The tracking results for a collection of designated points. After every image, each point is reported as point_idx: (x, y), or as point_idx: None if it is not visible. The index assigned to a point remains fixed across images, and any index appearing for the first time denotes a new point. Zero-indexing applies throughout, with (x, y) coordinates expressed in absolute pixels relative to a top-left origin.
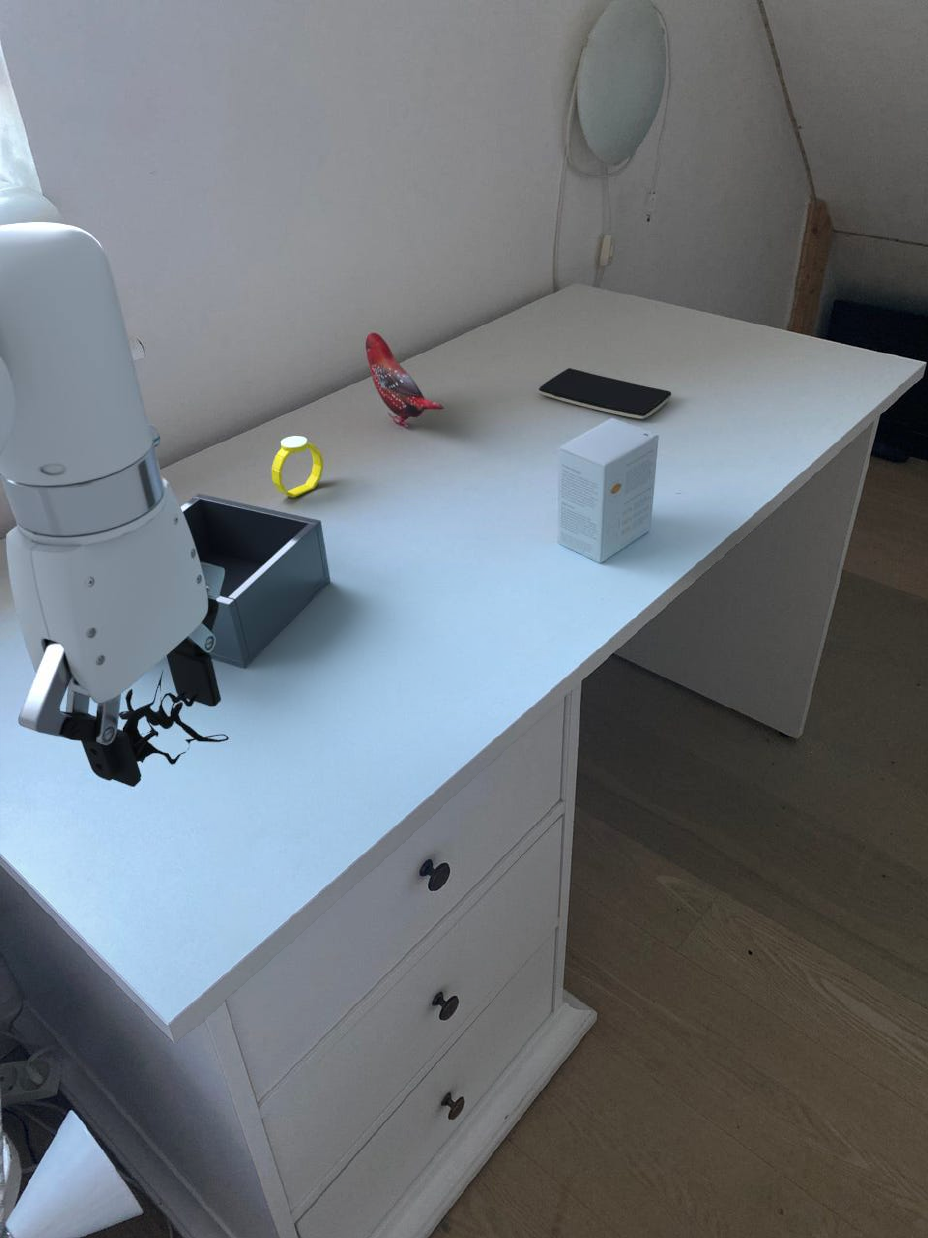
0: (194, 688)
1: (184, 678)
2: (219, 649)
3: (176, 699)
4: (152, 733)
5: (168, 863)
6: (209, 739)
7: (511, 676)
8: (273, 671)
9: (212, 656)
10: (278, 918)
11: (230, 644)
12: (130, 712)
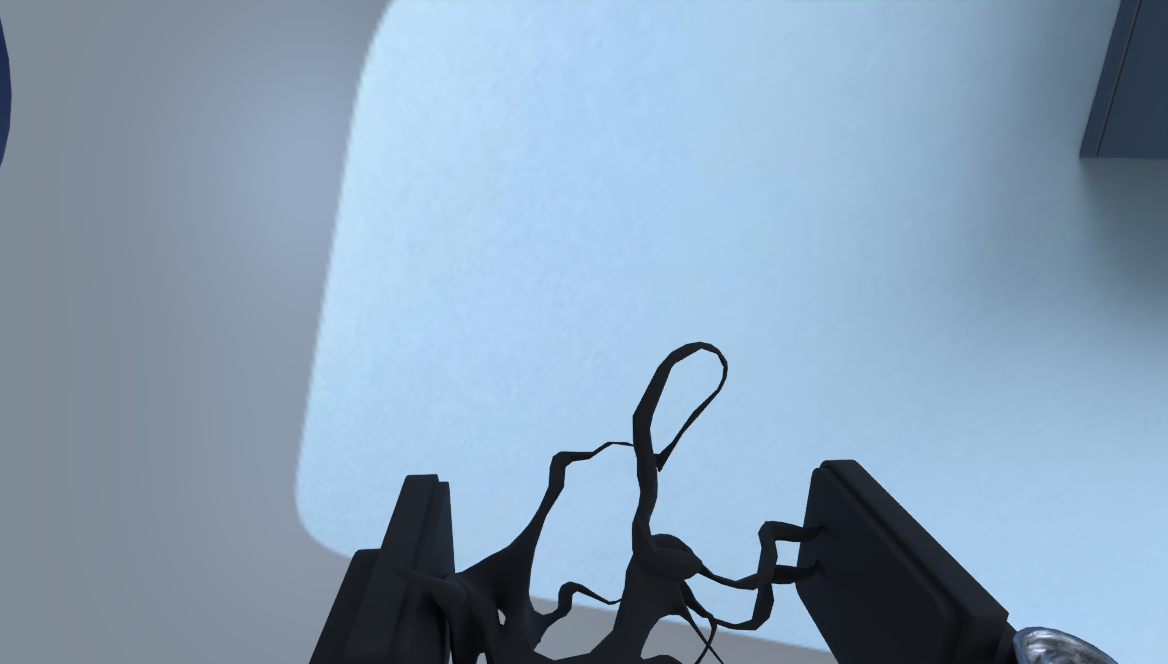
0: (832, 578)
1: (855, 578)
2: (1141, 77)
3: (741, 628)
4: None
5: (512, 364)
6: None
7: (1100, 643)
8: (1074, 231)
9: (1117, 46)
10: None
11: (1158, 126)
12: (639, 501)
